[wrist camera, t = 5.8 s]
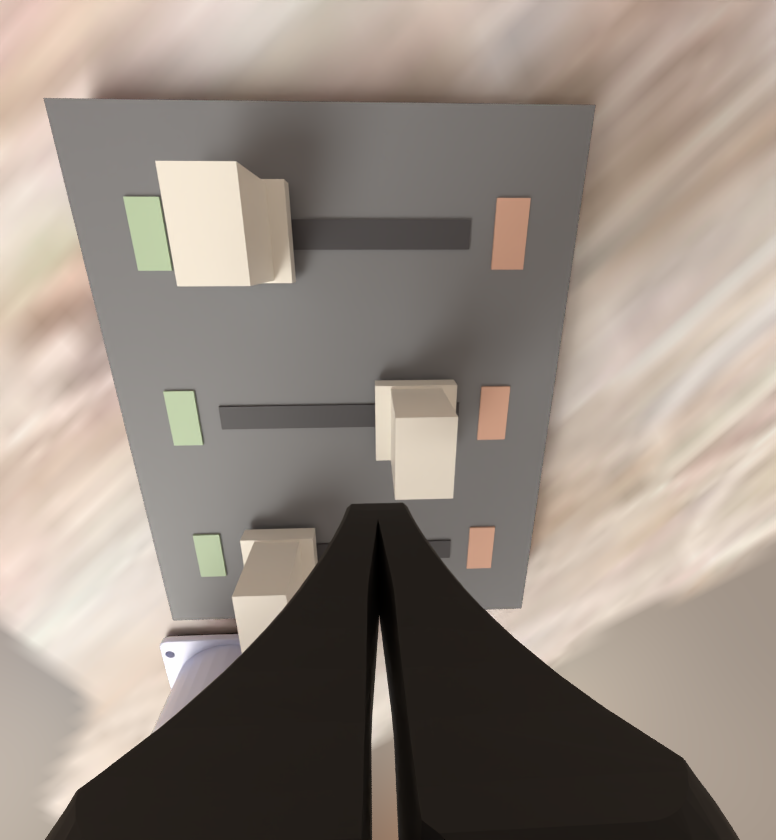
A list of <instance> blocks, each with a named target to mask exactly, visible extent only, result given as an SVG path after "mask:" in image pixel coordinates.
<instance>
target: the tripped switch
mask: <svg viewBox="0 0 776 840" xmlns="http://www.w3.org/2000/svg"><path fill="white" fill-rule="evenodd" d="M456 400H457V384H456V382H455V381H454V380H380V381H375V429H376V461H381V460H391V467H392V476H393V485H394V495H395V500H411V499H452V498H453V492H454V476H455V460H456V444H457V429H458V416H457V414H456Z"/></svg>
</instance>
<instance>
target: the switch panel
mask: <svg viewBox="0 0 776 840" xmlns="http://www.w3.org/2000/svg"><path fill="white" fill-rule="evenodd" d="M44 102H45V106H46V110H47V114H48V118H49V122H50V126H51V130H52V134H53V138H54V142H55V146H56V150H57V154H58V158H59V162H60V166H61V170H62V175H63V179H64V183H65V187H66V191H67V195H68V199H69V203H70V207H71V211H72V215H73V219H74V223H75V227H76V231H77V235H78V239H79V243H80V247H81V251H82V255H83V259H84V263H85V267H86V271H87V275H88V279H89V284H90V288H91V292H92V296H93V300H94V304H95V308H96V312H97V316H98V320H99V324H100V328H101V332H102V336H103V340H104V344H105V348H106V352H107V356H108V360H109V364H110V368H111V372H112V376H113V380H114V384H115V388H116V392H117V397H118V401H119V405H120V409H121V413H122V417H123V421H124V425H125V429H126V433H127V437H128V441H129V445H130V449H131V453H132V457H133V461H134V465H135V469H136V473H137V477H138V481H139V485H140V489H141V493H142V497H143V501H144V505H145V510H146V514H147V518H148V522H149V526H150V530H151V534H152V538H153V542H154V546H155V550H156V554H157V558H158V562H159V566H160V570H161V574H162V578H163V582H164V586H165V590H166V594H167V598H168V602H169V606H170V610H171V614H172V619H173V620H200V619H228V618H235V612H234V606H233V601H232V595H233V593H234V590H235V588H236V585H237V583H238V580H239V578H240V575H241V573H242V570H243V568H244V564H243V557H242V551H241V545H240V539H241V537H242V535H243V533H244V531H245V530H253V529H291V528H315V534H316V547H317V560H318V561H319V559H320V558H321V556H322V555H323V553H324V551H325V550H326V548H327V546H328V545H329V543H330V541H331V540H332V538H333V536H334V534H335V533H336V531H337V529H338V527H339V525H340V523H341V521H342V519H343V517H344V514H345V512H346V509H347V507H348V506H350V505H351V504H364V503H402V502H403V503H404V504H405V505H406V506H407V507H408V509H409V511H410V513H411V515H412V517H413V518H414V520H415V522H416V523H417V525H418V527H419V528H420V530H421V532H422V533H423V535H424V536H425V538H426V539H427V541H428V542H429V544H430V545H431V546H432V548H433V549H434V550H435V552H436V553H437V554H438V556H439V557H440V559H441V560H442V561H443V563H444V564H445V565H446V566H447V568H448V569H449V570H450V571H451V573H452V574H453V575H454V576H455V577H456V579H457V580H458V581H459V582H460V583H461V584H462V586H463V587H464V588H465V589H466V590H467V591H468V592H469V594H470V595H471V596H472V597H473V598H474V599H475V600H476V601H477V602H478V603H479V604H480V605H481V606H482V607H483V608H484V609H485V610H487V609H516V608H521V607H522V600H523V593H524V587H525V580H526V573H527V566H528V560H529V553H530V546H531V539H532V532H533V526H534V519H535V512H536V505H537V499H538V492H539V485H540V478H541V472H542V465H543V458H544V451H545V444H546V438H547V431H548V424H549V417H550V411H551V404H552V397H553V390H554V383H555V377H556V370H557V363H558V356H559V350H560V343H561V336H562V329H563V322H564V316H565V309H566V302H567V295H568V289H569V282H570V275H571V268H572V261H573V255H574V248H575V241H576V234H577V228H578V221H579V214H580V207H581V200H582V194H583V187H584V180H585V173H586V167H587V160H588V153H589V146H590V139H591V133H592V126H593V119H594V112H595V106H596V105H563V104H481V103H399V102H318V101H236V100H154V99H73V98H44ZM155 161H236V162H238V163H239V164H241V165H242V166H243V167H245V168H246V169H247V170H249V171H250V172H252V173H253V174H254V175H256V176H257V177H259V178H260V179H284V180H285V181H287V182H288V186H289V199H290V211H291V224H292V237H293V250H294V263H295V276H296V282H294V283H261V284H257V285H253V286H177V282H176V277H175V271H174V265H173V260H172V254H171V248H170V243H169V237H168V231H167V226H166V220H165V214H164V209H163V203H162V197H161V191H160V186H159V180H158V174H157V169H156V163H155ZM380 380H454V381H455V382H456V384H457V400H456V414H457V416H458V429H457V444H456V460H455V476H454V492H453V498H452V499H411V500H395V495H394V485H393V476H392V467H391V460H381V461H376V429H375V381H380Z"/></svg>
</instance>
